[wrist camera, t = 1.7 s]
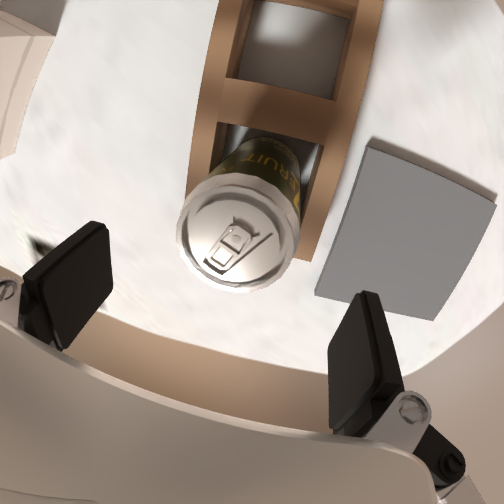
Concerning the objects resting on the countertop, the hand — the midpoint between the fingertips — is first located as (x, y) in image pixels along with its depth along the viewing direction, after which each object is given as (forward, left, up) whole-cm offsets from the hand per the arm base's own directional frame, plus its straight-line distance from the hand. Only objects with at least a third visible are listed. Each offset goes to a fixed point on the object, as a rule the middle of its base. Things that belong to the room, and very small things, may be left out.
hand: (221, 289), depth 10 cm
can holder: (-6, 0, -14) cm, 15 cm away
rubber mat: (+2, +14, -14) cm, 20 cm away
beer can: (-1, 0, -14) cm, 14 cm away
